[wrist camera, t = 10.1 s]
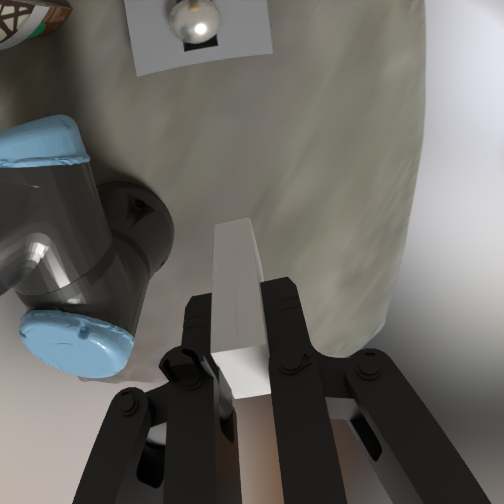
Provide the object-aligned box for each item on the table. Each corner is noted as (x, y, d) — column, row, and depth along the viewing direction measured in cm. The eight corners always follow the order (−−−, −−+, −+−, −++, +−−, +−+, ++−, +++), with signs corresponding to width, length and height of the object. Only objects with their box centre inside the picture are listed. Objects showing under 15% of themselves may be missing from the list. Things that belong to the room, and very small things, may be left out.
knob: (182, 48, 29) (172, 47, 24) (176, 10, 26) (165, 3, 21) (225, 40, 29) (223, 38, 24) (220, 2, 26) (217, -7, 21)
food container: (0, 35, 24) (-46, 43, 16) (17, -5, 21) (-29, -6, 13) (61, 54, 28) (17, 61, 20) (81, 11, 26) (39, 6, 17)
